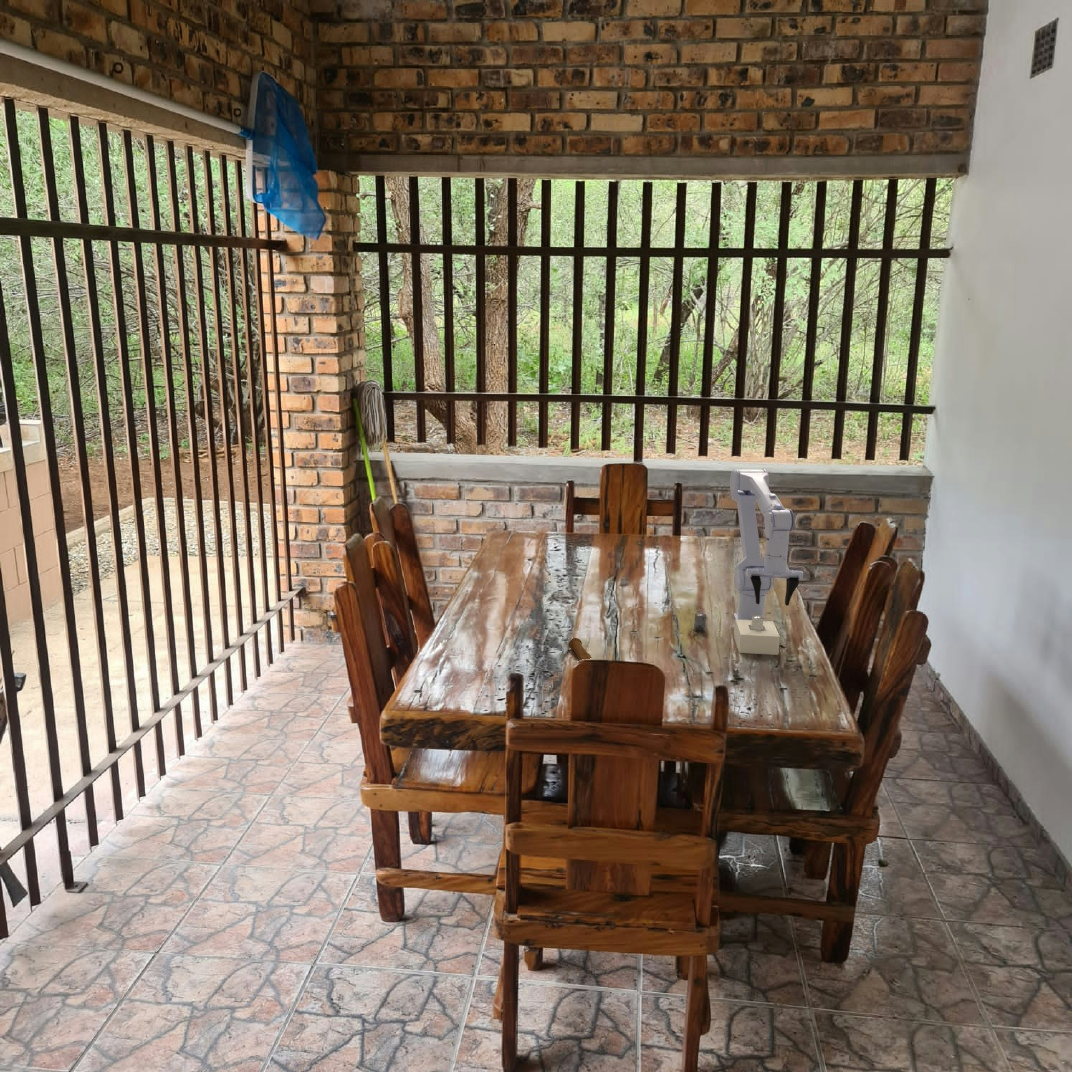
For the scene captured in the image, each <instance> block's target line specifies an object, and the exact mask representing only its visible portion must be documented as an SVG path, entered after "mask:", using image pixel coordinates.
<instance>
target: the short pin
mask: <svg viewBox="0 0 1072 1072" xmlns="http://www.w3.org/2000/svg"><path fill="white" fill-rule="evenodd" d="M706 616H707V615H706V613H704V612H703V613H702V612H696V613H695V614H694V621H693V622H694V623H693V631H694V632H698V633H704V632H705V631H706V621H707V617H706Z"/></svg>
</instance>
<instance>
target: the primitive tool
mask: <svg viewBox="0 0 1072 1072" xmlns="http://www.w3.org/2000/svg"><path fill="white" fill-rule="evenodd" d="M582 644H583V642H582V640H581V639H580V638H577V637H573V638H571V639H570V640H569V641H568V644H567V645H568V649H570V648H571V649H573V650H572V651H573V652H574V653H575V655H576V657H577V659H578V658H579V659H578V661H580V660H582V659H590V658H593V657H592V655H591V654H590V653H588V651H586V649H585V648H584V646H583V645H582ZM571 649H570V650H571Z"/></svg>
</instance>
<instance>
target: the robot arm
mask: <svg viewBox="0 0 1072 1072" xmlns="http://www.w3.org/2000/svg"><path fill="white" fill-rule="evenodd" d="M769 483H770V475H769V473H768V471H767V469H765V468H762V469H747V468H746V469H743V468H742V469H739V468H734V469H732V471H731V473H730V476H729V491H730V496H731V500H732V501H734V502H735V503H736V505H737V512H738V524H739V531H740V532H739V533H740V540H741V550H742V551H741V552H742V559H741V560H740V561H738V563H737V564H735V567H734V576H733V584H734V588H735V589H736V590H737V592H739V594H738V603H737V613H736V612H735V613H733V616H734V619H738V620H752V616H754V615H759V616H762V617H764V615H765V607H766V605H765V603H766V595H768V594H769V592H770V591H771V590H772V589H773V586H774V579H786V585H785V586H786V587H785V590H786V591H785V596H784V605H785V606H790V603H791V599H792V597H793V594H794V592H795V591H796V589H797V587H798V586H799V583H800V580H801V581H802V580H804V572H803V570H794V569H787V563H788V553H789V543H790V542H789V541H790V532H793V530H794V526H795V514H794V512H793V510H792V509H791V508H785V506H784V505H783V504H782V502H781V500H780V499H779V497H778V496H777V495H776V493H772V492H771V490H770V488H769V485H770V484H769ZM756 503H757V506H758V509H759V510H760V512H761V515H762V516H763V517H764V518H763V522H764V536H765V537H766V540H765V551H764V552H765V553H764V558H762V557H761V547H760V538H759V537H760V536H759V531H758V521H757V513H756ZM764 618H765V617H764Z"/></svg>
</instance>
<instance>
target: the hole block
mask: <svg viewBox="0 0 1072 1072" xmlns="http://www.w3.org/2000/svg"><path fill="white" fill-rule="evenodd" d="M734 619H735V618H734ZM751 624H752V620H738V619H735V621H734V632H733V638H734V642H735V645H736V646H737V650H738V652H739V654H757V655H775V656H779V653H780V652H779V651H780V641H781V636H780V633H779V632H778V630H777V628H776V625H775V622H774V621H772V620H770V621H769V620H764V621H763V631H757V630H751Z"/></svg>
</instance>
